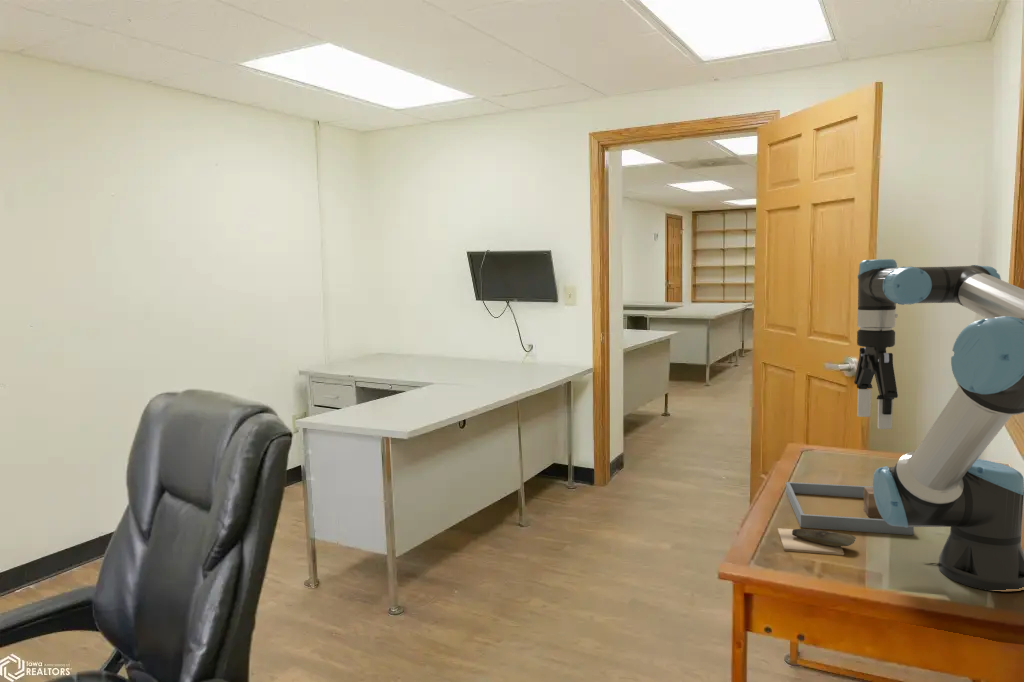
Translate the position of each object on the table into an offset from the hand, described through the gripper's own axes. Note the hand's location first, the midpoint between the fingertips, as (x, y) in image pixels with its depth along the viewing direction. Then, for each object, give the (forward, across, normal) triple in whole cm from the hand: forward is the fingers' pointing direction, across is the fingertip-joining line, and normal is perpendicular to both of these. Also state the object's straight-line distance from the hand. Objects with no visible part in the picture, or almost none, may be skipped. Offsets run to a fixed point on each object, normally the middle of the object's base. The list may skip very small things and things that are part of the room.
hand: (873, 422), depth 155 cm
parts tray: (+26, +15, +2) cm, 30 cm away
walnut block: (+26, +14, -6) cm, 30 cm away
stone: (+26, -2, +13) cm, 29 cm away
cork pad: (+26, -6, +15) cm, 31 cm away
